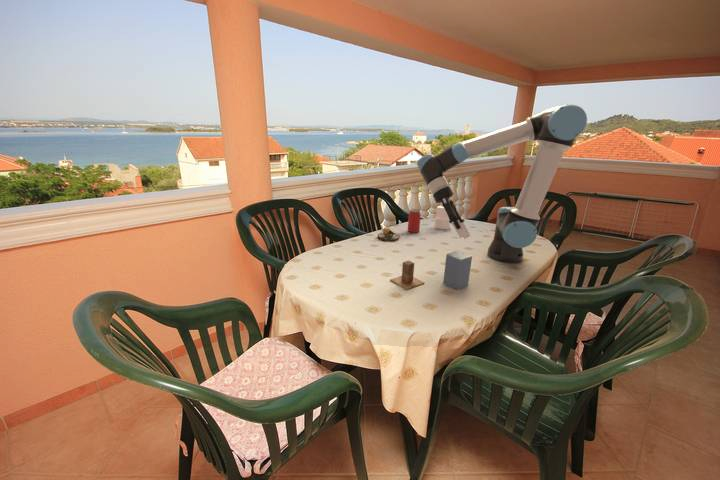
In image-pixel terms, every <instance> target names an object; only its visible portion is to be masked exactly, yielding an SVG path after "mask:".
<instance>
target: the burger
mask: <svg viewBox="0 0 720 480" xmlns="http://www.w3.org/2000/svg"><path fill="white" fill-rule="evenodd" d="M400 237H401V236H400V234H398V233H397V232H393V231H392V229H391V228H390V227H388V226H387V227H384V228H383V229H382V232H380V233H377V239H378V240H380V241H383V242H389V243H390V242H392V241H393V242H394V241H395V240H397V239H399V238H400Z"/></svg>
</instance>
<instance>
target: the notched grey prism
mask: <svg viewBox="0 0 720 480" xmlns="http://www.w3.org/2000/svg"><path fill="white" fill-rule="evenodd" d="M445 255H446V256H445V264H444V273H443V282H442V283H443V284H445V285H446V286H448V287H450V288H452V289H455V290H457V291H458V290H460V289H462V288H465V287H467V286H469V281H470V275H471V274H470V273H471V272H470V271H471V266H472V260H473V255H470V254H468V253H465V252H462V251H459V250H456V251H452V252H450V253H446V254H445Z"/></svg>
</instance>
